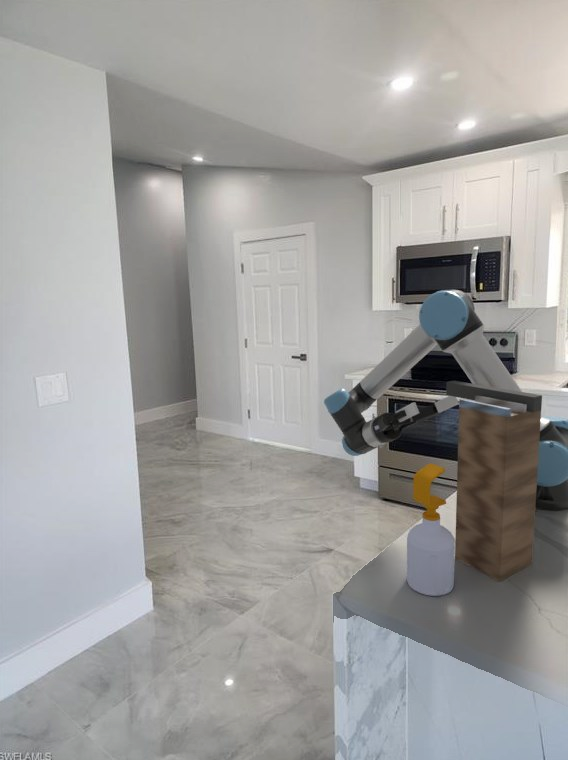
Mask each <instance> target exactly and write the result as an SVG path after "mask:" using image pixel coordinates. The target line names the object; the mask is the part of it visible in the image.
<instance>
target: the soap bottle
mask: <svg viewBox="0 0 568 760" xmlns="http://www.w3.org/2000/svg"><path fill="white" fill-rule="evenodd" d="M445 472H446V470H445V468H444V467H443V466H439V465H437V464H435V463H427V464H426V465H425V466H423V467H421V468H420V469H419V470H417V471H416V472H415V473H414V475H413V484H412V485H413V486H412V487H413V494H412V495H413V496H412V497H413V501H415V502H416V503H418V504H419V503H420V504H421V505H423V507H424V508H425V509H426V510H425V511H423V512H422V515H421V516H422V519H421V521H422V522H421V523H419V524H416V525H414V526H413V527H412V528H410V529H409V532H408V534H407V537H406V581H407V583H408V586H409V587H410V588H411V589H412V590H413V591H416V592H417V593H419V594H422V595H426V596H432V597H437V596H445V595H448V594H449V593H450V592H451V591H452V590H454V584H455V583H454V582H455V537H454V535H453V533H452V531H450V530H449V529H448V528H446V527H445V526H443V525H441V515H440V513H439V512H437V510H438V509H439V508H440V507H441V506H445V505H446V504H447V501H446V499H443V498H441V497H438V496H437V495H434V494H431V485H432V482H433V481H434V480H436V479H437V478H438V477H440V476H441V475H442V474H444V473H445Z"/></svg>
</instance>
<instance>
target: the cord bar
mask: <svg viewBox="0 0 568 760" xmlns="http://www.w3.org/2000/svg"><path fill="white" fill-rule="evenodd" d="M445 383H446V385H445V386H446V387H445V388H446V389H445V392H446V393H445V395H446V396H454V397H456V398H459V399H466V400H471V401H475V396H478V395H479V396H484V397H489V398H495V399H500V400H505V401H511V402H516V403H521V404H526V405H527V411H528V412H537V411H541V412H542V406H543V405H542V403H543V395H542V394H537V393H530V392H524V391H522V392H519V391H513V390H507V389H501V388H495V387H489V386H483V385H477V384H472V382H471V383H469V382H465V381H458V380H450V381H446V382H445Z"/></svg>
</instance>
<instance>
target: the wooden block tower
mask: <svg viewBox="0 0 568 760" xmlns="http://www.w3.org/2000/svg"><path fill="white" fill-rule="evenodd" d="M458 402H459V404H458V405H459V406H458V437H457V438H458V439H457V467H456V468H457V470H456V472H457V474H456V475H457V477H456V478H457V479H456V503H455V504H456V505H455V506H456V507H455V508H456V511H455V537H454V539H455V555H454V559H456V560H458V561H460V562H462V563H465V564H466V565H468V566H470V567H472V568H474V569H476V570H478V571H479V572H480V573H481V572H482V573H483V574H485V575H486V576H488V577H491V578H492V579H494V580H497V581H498V582H502V581H503V580H505V579H507V578H508V577H511V576H512V575H515V574H516V573H519V571H522V570H524V569H526V568H527V567H529V566H531V565H533V555H534V554H533V553H534V552H533V551H534V536H535V521H536V520H535V518H536V508H535V506H536V489H537V472H538V455H539V439H540V422H541V416H542V410H541V411H537V412H528V411H527V405H526V404H521V403H516V402H511V401H505V400H500V399H495V398H489V397H484V396H479V395H478V396H475V401H474V400H469V399H464V398H459V400H458Z"/></svg>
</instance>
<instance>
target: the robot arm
mask: <svg viewBox="0 0 568 760" xmlns="http://www.w3.org/2000/svg"><path fill="white" fill-rule="evenodd" d="M418 319H419V320H418V321H419V324H418V325H417V327H415V328H414V329H413V330H412V331H411V332H410V333H409V334H408V335H407V336H406V337H405V338H404V339H403V340H401V342H400V343H399V344H397V346H396V347H394V348H393V350H392V351H390V352H389V353H388V354H387V355H386V356H385V357H384V358H383V359H382V360H381V361H380V362H379V363H378V364H377V365H375V367H373V369H371V371H370V372H369V373H368V374H367V375H365V377H363V379H361V380H360V381H359V382H358V383H357V384H356V385H354V387H353V388H352V389H350V390H349V391H347V389H346V388H344V387H343V388H342V387H341V388H340V389H338V390H336V391H335V392H333V393H332V394H330V395H328V396H327V397H326V398H324V400H323V404H324V405H325V407H326V409H327V412H328V414H330V416H331V417H332V419H333V420H334V421H335V423H336V425H337V427H338V428H339V430H340V431H341V432H342V433H341V434H342V439H341V443H342V447H343V450H344V451H345V452H346V453H347V454H348V455H350V456H353V457H358V456H361V455H365V454H367V453H369V452H371V451H372V450H375V449H377V448H380V449H383V448H384V445H387V444H389V443H391V442H394V441H395V440H398V439H399V438H400V437H401V435H402V432H403V430H405V429H407V428H408V427H411V426H413V425H415V424H418V423H420V422H423V421H425V420H428V419H430V418H432V417H434V416H437V415H441V414H444V413H445V412H446V411H447V410H449V409H451V408H453V407H456V406H458V405H459V400H458V397H454V396H449V395H447V396H446V397H444V398H441V399H439V400H435V402H434V403H433V404H431V405H428V406H425V407H423V408H420V409H418V406H417V403H416V401H415V402H414V401H413V402H411V403H410V404H407V405H405V406H404V407H401V408H400V409H398V410H396V411H395V412H383V413H382V414H380V415H378V416H376V417H374V418H372V419H370V420H368V421H367V420H366V419H365V417H364V415H363V414H362V413H364V412H365V411H367V410H368V409H369V408H371V407H372V405H373V404H374V403H375V402H376V401H377V400H378V399H379V398H380V397H381V396H383V395H384V394H385V393H386V392H387V391H388V390H389V389H390V388H392V386H394V385H395V384H396V383H397V382H398V381H399V380H401V378H402V377H403V376H405V374H407V373H408V372H409V371H410V370H411V369H412V368H414V366H416V365H417V364H418V363H419V361H421V360H422V359H423V358H424V357H425V356H426V355H428V353H430V352H431V351H432V350H433V349H434V348H435V347H436V346H439V348H440V350H441V351H442V352H443V353H446V354H447V353H448V354H451V355H452V356H453V358H454V359H455V361H456V362H457V363H458V365H459V367H460V368H461V369H462V370H463V372H464V373H465V374H466V376H467V378H468V379H469V380H470V382H471V384H477V385H483V386H489V387H495V388H501V389H507V390H513V391H519V392H523V390H522V389H521V388H520V386H519V385H518V383H517V382H516V380H515V379H514V377H513V376H512V374H511V373H510V371H508V369H507V367H506V366H505V365H504V364H503V362H502V360H501V359H500V357H499V356H498V354H497V353H496V351H494V349H493V347H492V346H491V344H490V343H489V342H488V340H487V339H486V337H485V336H484V331H485V330H484V329H485V325H484V324H483V322H482V320H481V319H480V317H479V316H478V315H477V313H476V311H475V303H474V302H473V300H472V298H471V297H470V296H469V294H467V293H466V292H465V291H462V290H459V289H441V290H437V291H436V292H434V293H431V294H430V296H428V297H427V298H426V299H425V300H424V301H423V303H422V304H421V306H420V309H419V315H418ZM535 509H538V510H544V511H545V510H546V511H560V510H561V511H563V510H568V419H567V418H564V417H560V416H559V417H558V416H551V415H550V416H549V415H541V422H540V439H539V455H538V472H537V489H536V506H535Z"/></svg>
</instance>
